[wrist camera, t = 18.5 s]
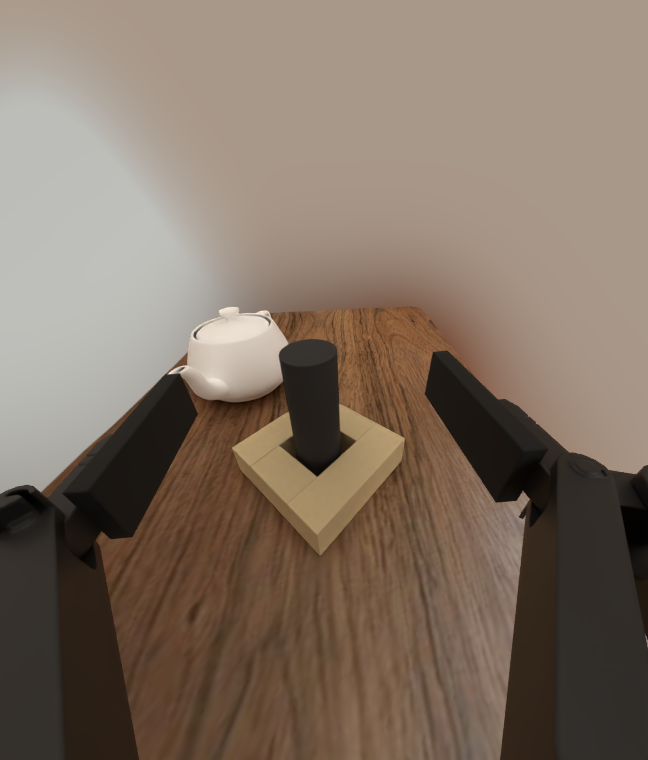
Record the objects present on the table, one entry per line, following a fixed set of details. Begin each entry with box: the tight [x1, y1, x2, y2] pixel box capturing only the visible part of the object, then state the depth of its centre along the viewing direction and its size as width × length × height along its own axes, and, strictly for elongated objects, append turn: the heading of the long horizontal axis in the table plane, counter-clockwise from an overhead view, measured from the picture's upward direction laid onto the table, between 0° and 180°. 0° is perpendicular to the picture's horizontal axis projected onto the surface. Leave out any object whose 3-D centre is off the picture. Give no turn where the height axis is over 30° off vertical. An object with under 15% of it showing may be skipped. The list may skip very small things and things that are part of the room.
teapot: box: [169, 307, 289, 402], centre depth 33 cm, size 22×14×11 cm, turn 168°
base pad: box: [232, 404, 405, 556], centre depth 23 cm, size 11×11×3 cm
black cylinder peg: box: [279, 339, 341, 477], centre depth 21 cm, size 4×4×12 cm
